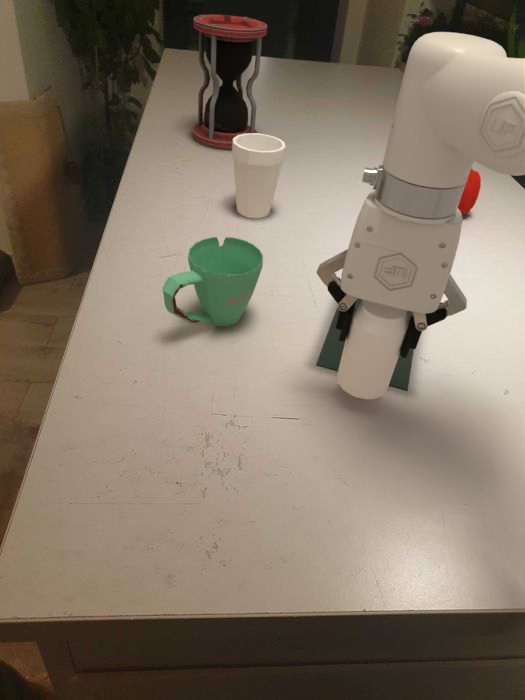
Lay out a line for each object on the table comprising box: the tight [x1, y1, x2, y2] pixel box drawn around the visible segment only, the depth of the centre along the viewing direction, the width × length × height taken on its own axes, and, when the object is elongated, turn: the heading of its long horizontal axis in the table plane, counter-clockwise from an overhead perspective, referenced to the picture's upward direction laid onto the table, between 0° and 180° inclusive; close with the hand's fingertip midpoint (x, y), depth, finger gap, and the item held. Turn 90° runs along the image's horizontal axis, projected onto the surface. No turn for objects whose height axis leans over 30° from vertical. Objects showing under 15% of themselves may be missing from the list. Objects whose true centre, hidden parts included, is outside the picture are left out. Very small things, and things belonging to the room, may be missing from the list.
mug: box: [162, 236, 264, 327], centre depth 70 cm, size 15×10×10 cm
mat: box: [316, 299, 415, 391], centre depth 75 cm, size 20×12×1 cm, turn 162°
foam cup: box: [231, 132, 287, 219], centre depth 97 cm, size 10×9×13 cm
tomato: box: [458, 168, 482, 216], centre depth 107 cm, size 11×12×9 cm
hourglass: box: [192, 13, 268, 150], centre depth 122 cm, size 16×16×25 cm
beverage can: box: [336, 300, 409, 400], centre depth 60 cm, size 6×6×12 cm
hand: (374, 341), depth 59 cm, fingers closed on beverage can, 6 cm apart
